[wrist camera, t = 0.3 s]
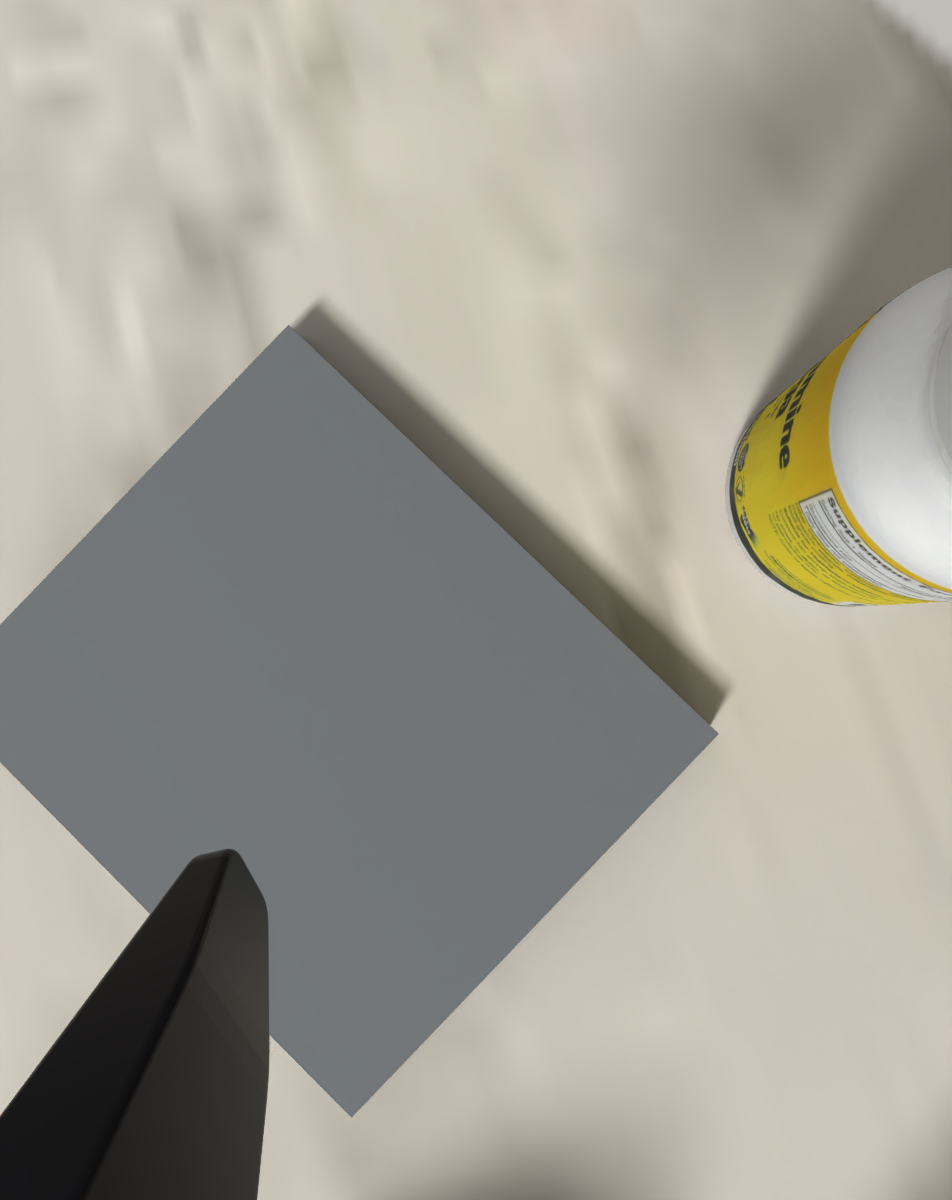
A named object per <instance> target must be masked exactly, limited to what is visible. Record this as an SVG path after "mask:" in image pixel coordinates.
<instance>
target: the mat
mask: <svg viewBox="0 0 952 1200" xmlns="http://www.w3.org/2000/svg"><path fill="white" fill-rule="evenodd" d="M717 735H718V733H717V732H716V731H715V730H714V729H713V728H712V727H711V726H710V725H709V724H708V723H707V722H706V721H705V720H704V719H703V718H702V717H701V716H700V715H698V714H697V713H696V712H695V711H694V710H693V709H692V708H691V707H690V706H689V705H688V704H687V703H686V702H685V701H684V700H683V699H682V698H681V697H680V696H679V695H677V694H676V693H675V692H674V691H673V690H672V689H671V688H670V687H669V686H668V685H667V684H666V683H665V682H664V681H663V680H662V679H661V678H660V677H659V676H657V675H656V674H655V673H654V672H653V671H652V670H651V669H650V668H649V667H648V666H647V665H646V664H645V663H644V662H643V661H642V660H641V659H640V658H639V657H637V656H636V655H635V654H634V653H633V652H632V651H631V650H630V649H629V648H628V647H627V646H626V645H625V644H624V643H623V642H622V641H621V640H620V639H619V638H617V637H616V636H615V635H614V634H613V633H612V632H611V631H610V630H609V629H608V628H607V627H606V626H605V625H604V624H603V623H602V622H601V621H600V620H599V619H597V618H596V617H595V616H594V615H593V614H592V613H591V612H590V611H589V610H588V609H587V608H586V607H585V606H584V605H583V604H582V603H581V602H580V601H579V600H577V599H576V598H575V597H574V596H573V595H572V594H571V593H570V592H569V591H568V590H567V589H566V588H565V587H564V586H563V585H562V584H561V583H560V582H559V581H557V580H556V579H555V578H554V577H553V576H552V575H551V574H550V573H549V572H548V571H547V570H546V569H545V568H544V567H543V566H542V565H541V564H540V563H539V562H537V561H536V560H535V559H534V558H533V557H532V556H531V555H530V554H529V553H528V552H527V551H526V550H525V549H524V548H523V547H522V546H521V545H520V544H519V543H517V542H516V541H515V540H514V539H513V538H512V537H511V536H510V535H509V534H508V533H507V532H506V531H505V530H504V529H503V528H502V527H501V526H500V525H499V524H497V523H496V522H495V521H494V520H493V519H492V518H491V517H490V516H489V515H488V514H487V513H486V512H485V511H484V510H483V509H482V508H481V507H480V506H479V505H477V504H476V503H475V502H474V501H473V500H472V499H471V498H470V497H469V496H468V495H467V494H466V493H465V492H464V491H463V490H462V489H461V488H460V487H459V486H457V485H456V484H455V483H454V482H453V481H452V480H451V479H450V478H449V477H448V476H447V475H446V474H445V473H444V472H443V471H442V470H441V469H440V468H439V467H437V466H436V465H435V464H434V463H433V462H432V461H431V460H430V459H429V458H428V457H427V456H426V455H425V454H424V453H423V452H422V451H421V450H420V449H419V448H417V447H416V446H415V445H414V444H413V443H412V442H411V441H410V440H409V439H408V438H407V437H406V436H405V435H404V434H403V433H402V432H401V431H400V430H399V429H397V428H396V427H395V426H394V425H393V424H392V423H391V422H390V421H389V420H388V419H387V418H386V417H385V416H384V415H383V414H382V413H381V412H380V411H379V410H377V409H376V408H375V407H374V406H373V405H372V404H371V403H370V402H369V401H368V400H367V399H366V398H365V397H364V396H363V395H362V394H361V393H360V392H359V391H357V390H356V389H355V388H354V387H353V386H352V385H351V384H350V383H349V382H348V381H347V380H346V379H345V378H344V377H343V376H342V375H341V374H340V373H339V372H337V371H336V370H335V369H334V368H333V367H332V366H331V365H330V364H329V363H328V362H327V361H326V360H325V359H324V358H323V357H322V356H321V355H320V354H319V353H317V352H316V351H315V350H314V349H313V348H312V347H311V346H310V345H309V344H308V343H307V342H306V341H305V340H304V339H303V338H302V337H301V336H300V335H299V334H297V333H296V332H295V331H294V330H293V329H292V328H291V327H290V326H289V325H288V326H287V327H286V328H285V329H284V330H283V331H282V332H281V333H280V334H279V335H278V336H277V337H276V338H275V339H274V340H273V341H272V343H271V344H270V345H269V346H268V347H267V348H266V349H265V350H264V351H263V352H262V353H261V354H260V355H259V356H258V357H257V358H256V359H255V360H254V361H253V362H252V363H251V364H250V365H249V366H248V368H247V369H246V370H245V371H244V372H243V373H242V374H241V375H240V376H239V377H238V378H237V379H236V380H235V381H234V382H233V383H232V384H231V385H230V386H229V387H228V388H227V389H226V390H225V391H224V392H223V394H222V395H221V396H220V397H219V398H218V399H217V400H216V401H215V402H214V403H213V404H212V405H211V406H210V407H209V408H208V409H207V410H206V411H205V412H204V413H203V414H202V415H201V416H200V417H199V419H198V420H197V421H196V422H195V423H194V424H193V425H192V426H191V427H190V428H189V429H188V430H187V431H186V432H185V433H184V434H183V435H182V436H181V437H180V438H179V439H178V440H177V441H176V442H175V444H174V445H173V446H172V447H171V448H170V449H169V450H168V451H167V452H166V453H165V454H164V455H163V456H162V457H161V458H160V459H159V460H158V461H157V462H156V463H155V464H154V465H153V466H152V467H151V468H150V470H149V471H148V472H147V473H146V474H145V475H144V476H143V477H142V478H141V479H140V480H139V481H138V482H137V483H136V484H135V485H134V486H133V487H132V488H131V489H130V490H129V491H128V492H127V493H126V495H125V496H124V497H123V498H122V499H121V500H120V501H119V502H118V503H117V504H116V505H115V506H114V507H113V508H112V509H111V510H110V511H109V512H108V513H107V514H106V515H105V516H104V517H103V518H102V520H101V521H100V522H99V523H98V524H97V525H96V526H95V527H94V528H93V529H92V530H91V531H90V532H89V533H88V534H87V535H86V536H85V537H84V538H83V539H82V540H81V541H80V542H79V543H78V545H77V546H76V547H75V548H74V549H73V550H72V551H71V552H70V553H69V554H68V555H67V556H66V557H65V558H64V559H63V560H62V561H61V562H60V563H59V564H58V565H57V566H56V567H55V568H54V569H53V571H52V572H51V573H50V574H49V575H48V576H47V577H46V578H45V579H44V580H43V581H42V582H41V583H40V584H39V585H38V586H37V587H36V588H35V589H34V590H33V591H32V592H31V593H30V594H29V596H28V597H27V598H26V599H25V600H24V601H23V602H22V603H21V604H20V605H19V606H18V607H17V608H16V609H15V610H14V611H13V612H12V613H11V614H10V615H9V616H8V617H7V618H6V619H5V621H4V622H3V623H2V624H1V625H0V762H1V763H2V764H3V765H4V766H5V767H6V768H7V769H8V771H9V772H10V773H11V774H12V775H13V776H14V777H15V778H16V779H17V780H18V781H19V782H20V783H21V784H22V785H23V786H24V787H25V788H26V789H27V790H28V791H29V792H30V793H31V794H32V795H33V796H34V797H35V798H36V799H37V800H38V801H39V802H40V803H41V804H42V805H43V806H44V807H45V808H46V809H47V810H48V811H49V812H50V813H51V814H52V815H53V816H54V817H55V818H56V819H57V820H58V821H59V822H60V823H61V824H62V825H63V826H64V827H65V828H66V829H67V830H68V831H69V832H70V833H71V834H72V835H73V836H74V837H75V838H76V839H77V840H78V841H79V842H80V843H81V844H82V845H83V846H84V847H85V848H86V849H87V850H88V851H89V852H90V853H91V854H92V855H93V856H94V858H95V859H96V860H97V861H98V862H99V863H100V864H101V865H102V866H103V867H104V868H105V869H106V870H107V871H108V872H109V873H110V874H111V875H112V876H113V877H114V878H115V879H116V880H117V881H118V882H119V883H120V884H121V885H122V886H123V887H124V888H125V889H126V890H127V891H128V892H129V893H130V894H131V895H132V896H133V897H134V898H135V899H136V900H137V901H138V902H139V903H140V904H141V905H142V906H143V907H144V908H145V909H146V910H147V911H148V912H149V913H150V914H151V913H152V911H153V910H154V908H155V907H156V906H157V904H158V903H159V902H160V900H161V899H162V898H163V896H164V895H165V894H166V892H167V891H168V890H169V888H170V887H171V886H172V884H173V883H174V882H175V880H176V879H177V878H178V876H179V875H180V874H181V872H182V871H183V869H184V868H185V867H186V865H187V864H188V863H189V862H190V861H191V860H192V859H193V858H194V857H196V856H198V855H202V854H206V853H211V852H215V851H219V850H224V849H234V850H236V851H237V852H238V853H239V854H240V856H241V857H242V859H243V860H244V862H245V864H246V866H247V867H248V869H249V871H250V873H251V875H252V876H253V878H254V880H255V882H256V884H257V885H258V887H259V889H260V891H261V893H262V894H263V897H264V899H265V902H266V906H267V910H268V922H269V1035H270V1036H271V1037H272V1038H273V1039H274V1040H275V1041H276V1042H277V1043H278V1044H279V1045H280V1046H281V1047H282V1048H283V1049H284V1050H285V1051H286V1052H287V1053H288V1054H289V1055H290V1056H291V1057H292V1058H293V1059H294V1060H295V1061H296V1062H297V1063H298V1064H299V1065H300V1066H301V1067H302V1068H303V1069H304V1070H305V1071H306V1072H307V1073H308V1074H309V1075H310V1076H311V1077H312V1078H313V1079H314V1080H315V1081H316V1082H317V1083H318V1084H319V1085H320V1086H321V1087H322V1088H323V1089H324V1090H325V1091H326V1092H327V1093H328V1094H329V1095H330V1096H331V1097H332V1098H333V1099H334V1100H335V1101H336V1102H337V1103H338V1104H339V1105H340V1106H341V1107H342V1108H343V1109H344V1110H345V1111H346V1112H347V1113H348V1114H349V1115H350V1116H351V1118H352V1117H353V1116H354V1115H355V1113H356V1112H357V1111H358V1110H359V1109H360V1108H361V1107H362V1106H363V1105H364V1104H365V1103H366V1102H367V1101H368V1100H369V1099H370V1098H371V1097H372V1096H373V1095H374V1094H375V1093H376V1092H377V1090H378V1089H379V1088H380V1087H381V1086H382V1085H383V1084H384V1083H385V1082H386V1081H387V1080H388V1079H389V1078H390V1077H391V1076H392V1075H393V1074H394V1073H395V1072H396V1071H397V1070H398V1069H399V1067H400V1066H401V1065H402V1064H403V1063H404V1062H405V1061H406V1060H407V1059H408V1058H409V1057H410V1056H411V1055H412V1054H413V1053H414V1052H415V1051H416V1050H417V1049H418V1048H419V1047H420V1046H421V1044H422V1043H423V1042H424V1041H425V1040H426V1039H427V1038H428V1037H429V1036H430V1035H431V1034H432V1033H433V1032H434V1031H435V1030H436V1029H437V1028H438V1027H439V1026H440V1025H441V1024H442V1023H443V1021H444V1020H445V1019H446V1018H447V1017H448V1016H449V1015H450V1014H451V1013H452V1012H453V1011H454V1010H455V1009H456V1008H457V1007H458V1006H459V1005H460V1004H461V1003H462V1002H463V1001H464V1000H465V998H466V997H467V996H468V995H469V994H470V993H471V992H472V991H473V990H474V989H475V988H476V987H477V986H478V985H479V984H480V983H481V982H482V981H483V980H484V979H485V978H486V977H487V975H488V974H489V973H490V972H491V971H492V970H493V969H494V968H495V967H496V966H497V965H498V964H499V963H500V962H501V961H502V960H503V959H504V958H505V957H506V956H507V955H508V954H509V953H510V951H511V950H512V949H513V948H514V947H515V946H516V945H517V944H518V943H519V942H520V941H521V940H522V939H523V938H524V937H525V936H526V935H527V934H528V933H529V932H530V931H531V930H532V928H533V927H534V926H535V925H536V924H537V923H538V922H539V921H540V920H541V919H542V918H543V917H544V916H545V915H546V914H547V913H548V912H549V911H550V910H551V909H552V908H553V907H554V905H555V904H556V903H557V902H558V901H559V900H560V899H561V898H562V897H563V896H564V895H565V894H566V893H567V892H568V891H569V890H570V889H571V888H572V887H573V886H574V885H575V884H576V882H577V881H578V880H579V879H580V878H581V877H582V876H583V875H584V874H585V873H586V872H587V871H588V870H589V869H590V868H591V867H592V866H593V865H594V864H595V863H596V862H597V861H598V859H599V858H600V857H601V856H602V855H603V854H604V853H605V852H606V851H607V850H608V849H609V848H610V847H611V846H612V845H613V844H614V843H615V842H616V841H617V840H618V839H619V838H620V836H621V835H622V834H623V833H624V832H625V831H626V830H627V829H628V828H629V827H630V826H631V825H632V824H633V823H634V822H635V821H636V820H637V819H638V818H639V817H640V816H641V815H642V813H643V812H644V811H645V810H646V809H647V808H648V807H649V806H650V805H651V804H652V803H653V802H654V801H655V800H656V799H657V798H658V797H659V796H660V795H661V794H662V793H663V792H664V790H665V789H666V788H667V787H668V786H669V785H670V784H671V783H672V782H673V781H674V780H675V779H676V778H677V777H678V776H679V775H680V774H681V773H682V772H683V771H684V770H685V769H686V767H687V766H688V765H689V764H690V763H691V762H692V761H693V760H694V759H695V758H696V757H697V756H698V755H699V754H700V753H701V752H702V751H703V750H704V749H705V748H706V747H707V746H708V744H709V743H710V742H711V741H712V740H713V739H714V738H715V737H716V736H717Z"/></svg>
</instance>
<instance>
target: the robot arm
mask: <svg viewBox="0 0 952 1200" xmlns="http://www.w3.org/2000/svg"><path fill="white" fill-rule="evenodd" d="M268 1078H269V922H268V910H267V906H266V902H265V899H264V897H263V894H262V893H261V891H260V889H259V887H258V885H257V884H256V882H255V880H254V878H253V876H252V875H251V873H250V871H249V869H248V867H247V866H246V864H245V862H244V860H243V859H242V857H241V856H240V854H239V853H238V852H237V851H236V850H234V849H224V850H219V851H215V852H211V853H206V854H202V855H198V856H196V857H194V858H193V859H192V860H191V861H190V862H189V863H188V864H187V865H186V867H185V868H184V869H183V871H182V872H181V874H180V875H179V876H178V878H177V879H176V880H175V882H174V883H173V884H172V886H171V887H170V888H169V890H168V891H167V892H166V894H165V895H164V896H163V898H162V899H161V900H160V902H159V903H158V904H157V906H156V907H155V908H154V910H153V911H152V913H151V914H150V915H149V917H148V918H147V919H146V921H145V922H144V923H143V925H142V926H141V927H140V929H139V930H138V931H137V933H136V934H135V935H134V937H133V938H132V939H131V941H130V942H129V943H128V945H127V946H126V947H125V949H124V950H123V952H122V953H121V954H120V956H119V957H118V958H117V960H116V961H115V962H114V964H113V965H112V966H111V968H110V969H109V970H108V972H107V973H106V974H105V976H104V977H103V978H102V980H101V981H100V982H99V984H98V985H97V986H96V988H95V989H94V990H93V992H92V993H91V995H90V996H89V997H88V999H87V1000H86V1001H85V1003H84V1004H83V1005H82V1007H81V1008H80V1009H79V1011H78V1012H77V1013H76V1015H75V1016H74V1017H73V1019H72V1020H71V1021H70V1023H69V1024H68V1025H67V1027H66V1028H65V1029H64V1031H63V1032H62V1034H61V1035H60V1036H59V1038H58V1039H57V1040H56V1042H55V1043H54V1044H53V1046H52V1047H51V1048H50V1050H49V1051H48V1052H47V1054H46V1055H45V1056H44V1058H43V1059H42V1060H41V1062H40V1063H39V1064H38V1066H37V1067H36V1068H35V1070H34V1071H33V1073H32V1074H31V1075H30V1077H29V1078H28V1079H27V1081H26V1082H25V1083H24V1085H23V1086H22V1087H21V1089H20V1090H19V1091H18V1093H17V1094H16V1095H15V1097H14V1098H13V1099H12V1101H11V1102H10V1103H9V1105H8V1106H7V1107H6V1109H5V1110H4V1111H3V1113H2V1114H1V1116H0V1200H257V1194H258V1184H259V1174H260V1164H261V1154H262V1144H263V1134H264V1124H265V1114H266V1104H267V1092H268Z"/></svg>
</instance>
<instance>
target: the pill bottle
mask: <svg viewBox="0 0 952 1200" xmlns="http://www.w3.org/2000/svg"><path fill="white" fill-rule="evenodd" d="M725 497H726V510H727V515H728V520H729V524H730V527H731V530H732V532H733V535H734V537H735V539H736V541H737V543H738V545H739V546H740V548H741V550H742V551H743V553H744V555H745V556H746V558H747V559H748V560H749V562H750V563H751V564H752V565H753V566H754V568H755V569H756V570H757V571H758V572H759V573H760V574H761V575H762V576H763V577H764V578H766V579H767V580H768V581H769V582H771V583H772V584H773V585H775V586H776V587H778V588H780V589H781V590H783V591H785V592H786V593H789V594H791V595H793V596H795V597H798V598H800V599H803V600H806V601H809V602H813V603H818V604H823V605H833V606H866V605H873V606H877V605H893V604H911V603H928V602H946V601H952V267H951V268H948V269H945V270H943V271H941V272H939V273H936V274H934V275H932V276H930V277H928V278H926V279H924V280H922V281H921V282H919V283H917V284H916V285H914V286H913V287H911V288H909V289H908V290H906V291H904V292H903V293H901V294H900V295H898V296H897V297H895V298H894V299H893V300H892V301H890V302H889V303H888V304H886V305H884V306H883V307H882V308H881V309H880V310H879V311H878V312H877V313H876V314H874V315H873V316H872V317H871V318H870V319H869V320H867V321H866V322H865V323H864V324H863V325H862V326H861V327H859V328H858V329H857V330H856V331H855V332H853V333H852V334H851V335H850V336H849V337H847V338H846V339H845V340H844V341H843V342H842V343H841V344H840V345H838V346H837V347H836V348H835V349H834V350H833V351H832V352H831V353H829V354H828V355H827V356H826V357H825V358H824V359H822V360H821V361H820V362H819V363H818V364H816V365H815V366H814V367H813V368H812V369H810V370H809V371H808V372H807V373H806V374H804V375H803V376H802V377H801V378H800V379H798V380H797V381H796V382H795V383H793V384H792V385H791V386H790V387H789V388H787V389H786V390H785V391H784V392H783V393H781V394H780V395H779V396H778V397H777V398H776V399H774V400H773V401H772V402H771V403H770V404H768V405H767V406H766V407H765V408H764V409H763V410H762V411H761V412H760V413H759V414H758V415H757V416H756V418H755V419H754V420H753V421H752V422H751V423H750V425H749V426H748V427H747V429H746V430H745V432H744V433H743V435H742V436H741V438H740V439H739V441H738V443H737V445H736V447H735V450H734V452H733V454H732V457H731V460H730V463H729V467H728V470H727V478H726V488H725Z"/></svg>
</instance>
